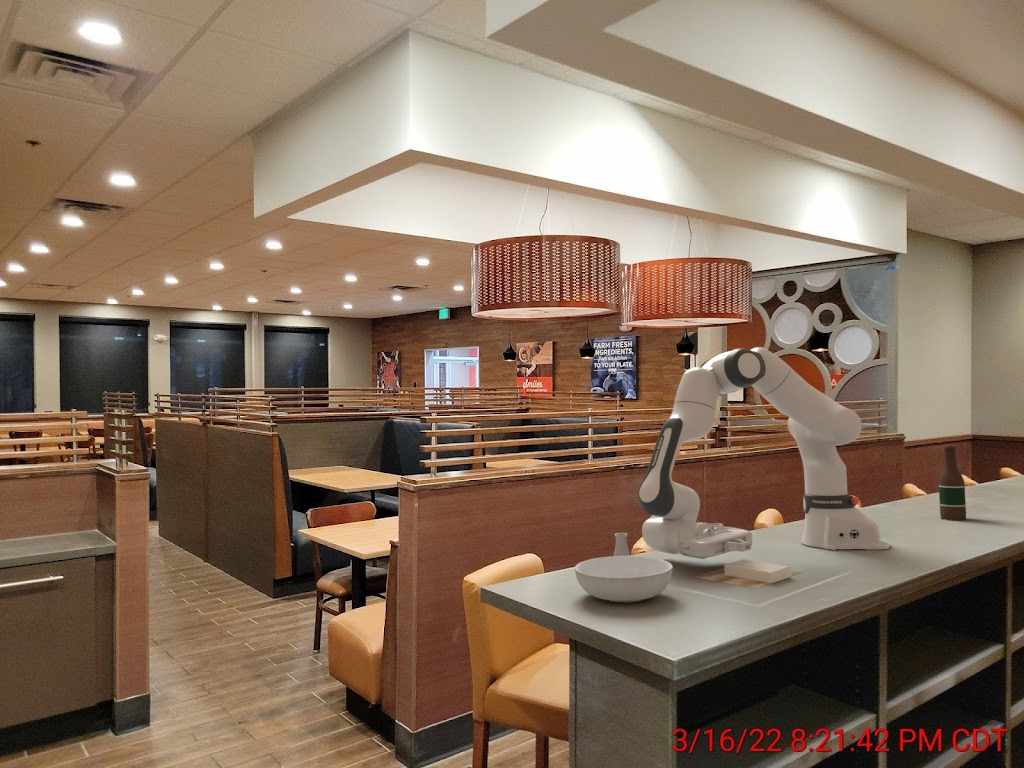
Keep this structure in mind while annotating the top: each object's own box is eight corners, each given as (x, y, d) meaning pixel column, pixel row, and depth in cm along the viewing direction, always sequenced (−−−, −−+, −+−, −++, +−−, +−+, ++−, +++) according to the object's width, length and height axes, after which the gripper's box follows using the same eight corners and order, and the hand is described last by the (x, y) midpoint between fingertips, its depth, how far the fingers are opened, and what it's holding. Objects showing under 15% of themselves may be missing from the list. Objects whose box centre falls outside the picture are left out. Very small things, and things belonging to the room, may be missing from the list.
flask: (637, 579, 175) (635, 536, 175) (606, 578, 177) (605, 536, 177) (638, 572, 182) (636, 531, 182) (608, 571, 184) (607, 531, 184)
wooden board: (693, 578, 173) (693, 576, 173) (742, 564, 186) (741, 562, 186) (754, 590, 161) (754, 588, 161) (801, 574, 174) (801, 572, 174)
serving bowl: (590, 583, 173) (589, 553, 173) (680, 588, 165) (679, 557, 165) (563, 607, 153) (562, 573, 154) (664, 614, 146) (663, 579, 146)
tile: (724, 564, 174) (770, 572, 165) (743, 559, 179) (789, 566, 170) (724, 575, 174) (771, 583, 164) (743, 569, 179) (790, 577, 170)
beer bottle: (944, 516, 248) (941, 444, 248) (970, 518, 242) (967, 445, 242) (935, 519, 243) (932, 446, 243) (961, 521, 237) (958, 446, 237)
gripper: (672, 533, 177) (721, 540, 167) (721, 522, 191) (770, 527, 180) (673, 559, 177) (722, 568, 167) (722, 546, 190) (771, 553, 180)
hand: (747, 547), depth 173 cm, fingers closed
